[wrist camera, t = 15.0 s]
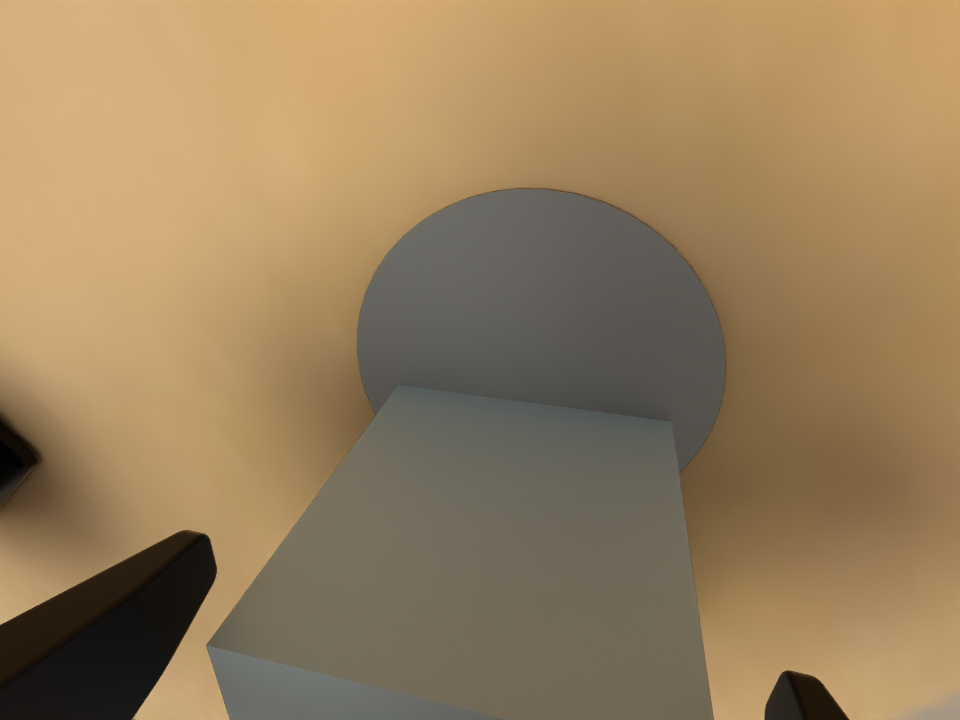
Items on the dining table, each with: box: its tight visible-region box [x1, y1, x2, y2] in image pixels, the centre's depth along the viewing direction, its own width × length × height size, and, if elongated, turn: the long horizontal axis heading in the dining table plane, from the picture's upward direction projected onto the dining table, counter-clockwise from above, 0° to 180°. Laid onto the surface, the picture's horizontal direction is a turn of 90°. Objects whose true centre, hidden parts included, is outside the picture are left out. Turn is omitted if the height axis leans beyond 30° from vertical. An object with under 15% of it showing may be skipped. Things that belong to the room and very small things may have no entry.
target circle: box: [357, 188, 726, 472], centre depth 15 cm, size 10×10×1 cm
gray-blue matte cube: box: [206, 385, 714, 720], centre depth 14 cm, size 8×8×9 cm
